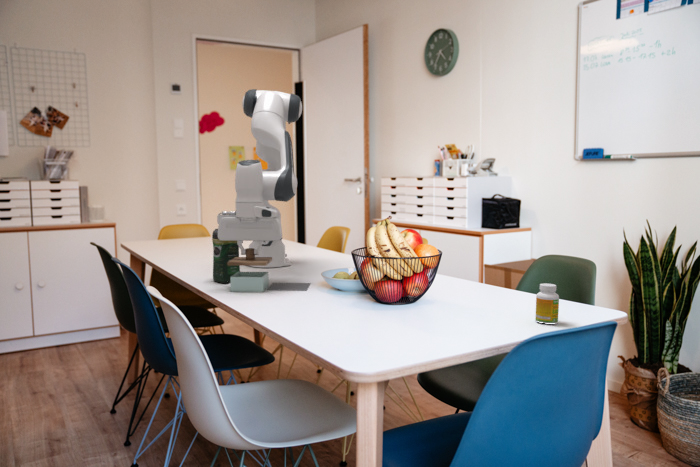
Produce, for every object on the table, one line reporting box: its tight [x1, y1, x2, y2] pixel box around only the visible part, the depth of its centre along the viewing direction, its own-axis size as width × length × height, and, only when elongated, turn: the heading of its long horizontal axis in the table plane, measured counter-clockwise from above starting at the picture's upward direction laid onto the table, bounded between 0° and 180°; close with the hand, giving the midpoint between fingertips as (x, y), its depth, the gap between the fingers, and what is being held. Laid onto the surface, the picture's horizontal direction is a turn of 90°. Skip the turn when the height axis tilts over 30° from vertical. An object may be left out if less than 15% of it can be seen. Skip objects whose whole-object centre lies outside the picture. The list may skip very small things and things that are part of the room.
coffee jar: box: [211, 228, 241, 284], centre depth 198 cm, size 10×8×19 cm
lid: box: [227, 247, 272, 267], centre depth 183 cm, size 12×12×4 cm
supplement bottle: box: [535, 282, 560, 324], centre depth 145 cm, size 5×5×10 cm
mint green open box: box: [230, 271, 270, 293], centre depth 184 cm, size 10×10×5 cm
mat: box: [266, 282, 312, 292], centre depth 188 cm, size 13×13×1 cm
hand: (250, 254), depth 183 cm, fingers closed on lid, 3 cm apart
